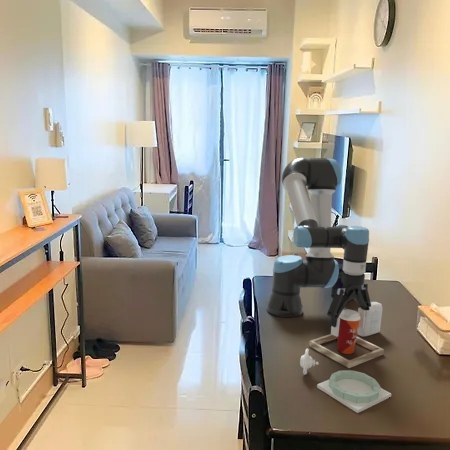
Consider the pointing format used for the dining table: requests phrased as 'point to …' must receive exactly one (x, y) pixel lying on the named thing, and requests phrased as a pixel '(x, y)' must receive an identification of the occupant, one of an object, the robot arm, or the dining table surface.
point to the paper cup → (348, 331)
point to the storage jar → (338, 281)
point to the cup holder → (354, 389)
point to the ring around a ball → (307, 362)
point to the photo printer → (371, 320)
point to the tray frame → (348, 363)
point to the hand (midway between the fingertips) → (347, 330)
